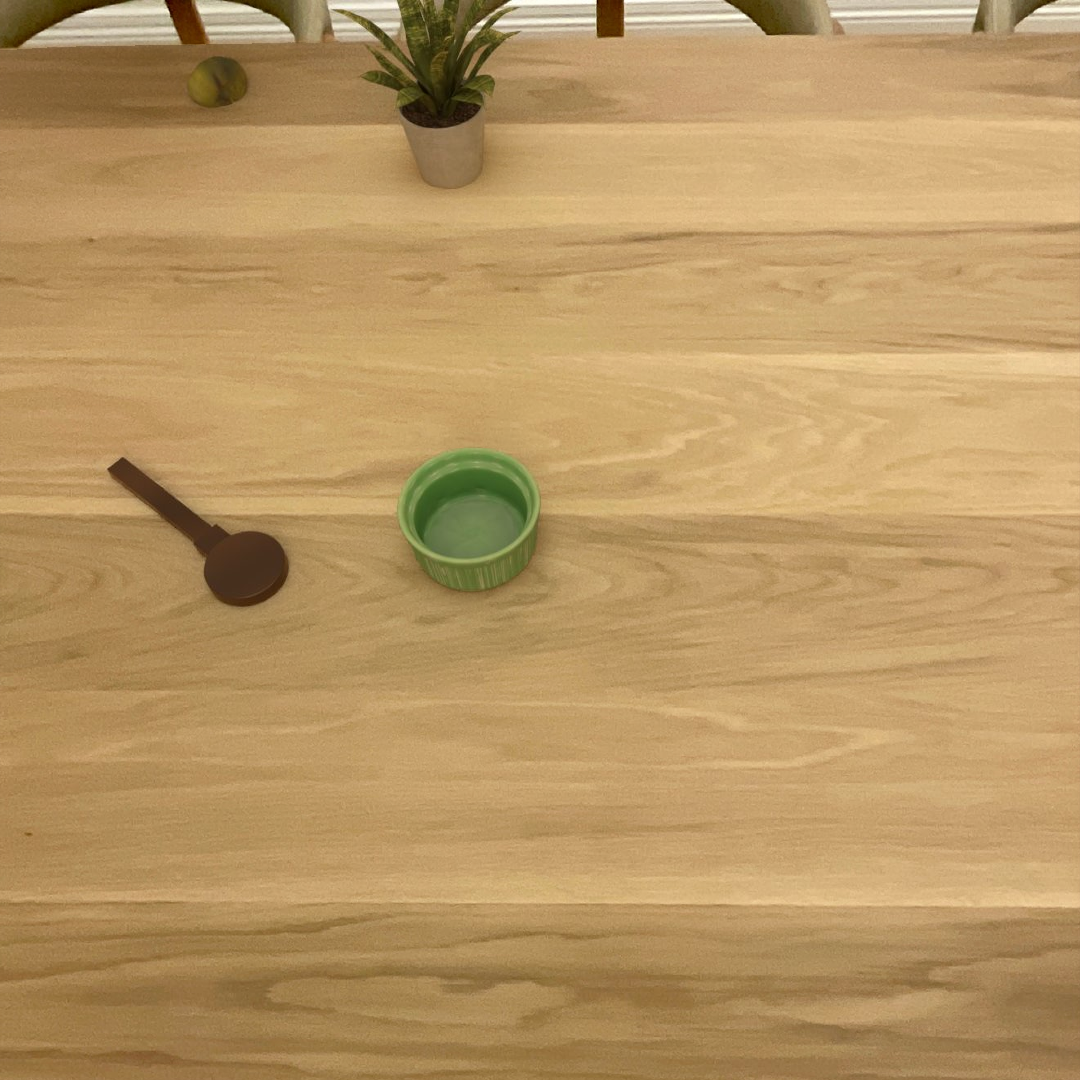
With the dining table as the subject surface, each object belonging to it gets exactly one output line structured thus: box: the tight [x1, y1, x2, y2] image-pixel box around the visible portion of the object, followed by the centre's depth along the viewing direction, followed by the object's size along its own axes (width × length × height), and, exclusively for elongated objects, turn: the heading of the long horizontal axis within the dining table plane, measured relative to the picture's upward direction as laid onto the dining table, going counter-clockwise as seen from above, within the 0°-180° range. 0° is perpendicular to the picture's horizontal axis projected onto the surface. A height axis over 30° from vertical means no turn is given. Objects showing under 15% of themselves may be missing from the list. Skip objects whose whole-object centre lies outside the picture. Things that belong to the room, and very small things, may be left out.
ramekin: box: [396, 446, 542, 592], centre depth 74 cm, size 9×9×4 cm
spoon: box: [106, 456, 289, 607], centre depth 77 cm, size 16×5×1 cm, turn 50°
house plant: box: [331, 0, 522, 189], centre depth 89 cm, size 14×14×16 cm
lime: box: [186, 55, 248, 109], centre depth 99 cm, size 4×5×5 cm
